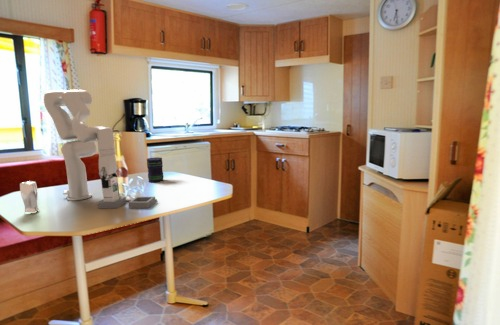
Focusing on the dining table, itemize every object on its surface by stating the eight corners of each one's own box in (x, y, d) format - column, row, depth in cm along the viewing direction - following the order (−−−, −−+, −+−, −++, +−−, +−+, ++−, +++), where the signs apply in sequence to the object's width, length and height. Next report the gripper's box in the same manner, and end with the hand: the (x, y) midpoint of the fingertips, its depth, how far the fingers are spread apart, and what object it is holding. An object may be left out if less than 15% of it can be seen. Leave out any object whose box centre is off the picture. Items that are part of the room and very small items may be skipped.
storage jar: (167, 180, 235) (165, 158, 232) (155, 183, 226) (154, 160, 224) (156, 178, 240) (154, 157, 237) (145, 181, 232) (143, 159, 229)
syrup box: (114, 207, 178) (111, 178, 176) (103, 206, 180) (100, 178, 177) (120, 203, 184) (117, 176, 181) (110, 203, 185) (107, 176, 182)
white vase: (37, 209, 178) (32, 180, 175) (42, 211, 174) (38, 182, 171) (21, 213, 173) (16, 183, 170) (26, 215, 168) (22, 185, 166)
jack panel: (98, 208, 177) (97, 202, 177) (109, 201, 189) (109, 195, 189) (148, 208, 175) (147, 202, 174) (156, 201, 187) (156, 195, 186)
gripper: (108, 149, 186) (111, 181, 189) (90, 155, 169) (94, 190, 172) (121, 149, 185) (124, 181, 188) (105, 154, 168) (109, 189, 171)
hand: (110, 185), depth 180 cm, fingers open, 9 cm apart
